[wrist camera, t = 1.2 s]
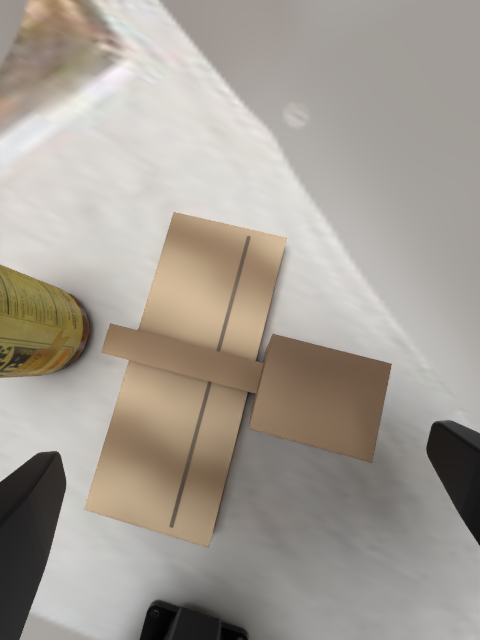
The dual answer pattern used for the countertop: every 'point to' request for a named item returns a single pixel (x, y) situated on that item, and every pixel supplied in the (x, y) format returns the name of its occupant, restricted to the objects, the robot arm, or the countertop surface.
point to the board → (187, 382)
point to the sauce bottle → (38, 326)
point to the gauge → (281, 386)
